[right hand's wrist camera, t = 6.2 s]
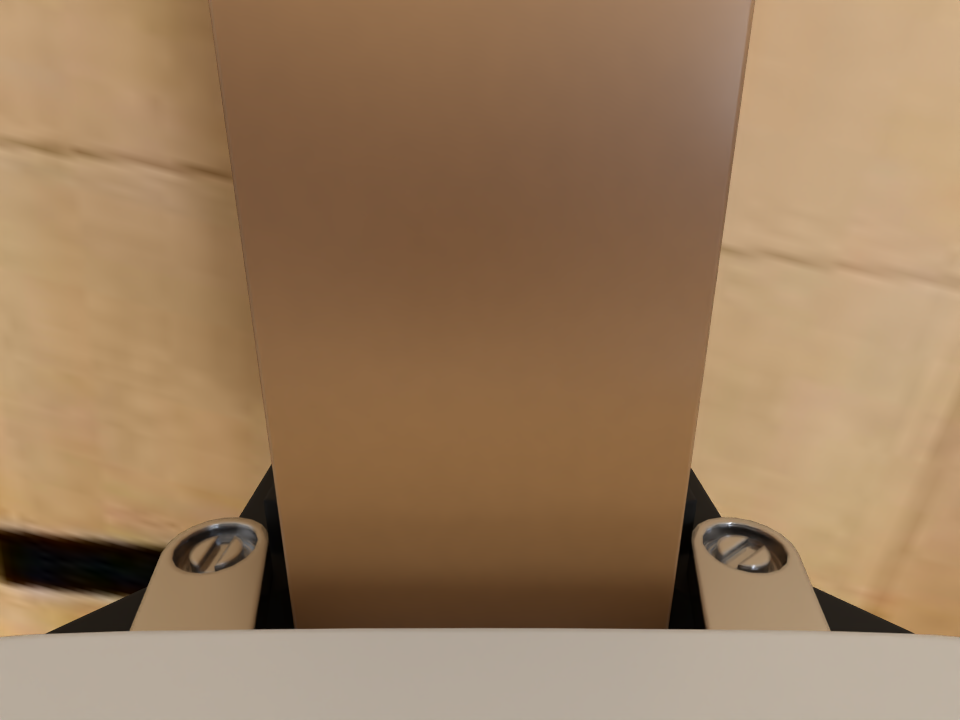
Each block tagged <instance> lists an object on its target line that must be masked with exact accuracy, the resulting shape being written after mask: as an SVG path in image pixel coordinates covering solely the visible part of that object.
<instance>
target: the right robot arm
mask: <svg viewBox="0 0 960 720" xmlns="http://www.w3.org/2000/svg"><path fill="white" fill-rule="evenodd" d="M0 720H960V637H954V636H944V635H929V634H914V633H912V632H910V631H908V630H906V629H903V628H901V627H899V626H897V625H895V624H893V623H890V622H888V621H886V620H884V619H882V618H880V617H877V616H875V615H873V614H871V613H869V612H867V611H864V610H862V609H860V608H858V607H856V606H854V605H851V604H849V603H847V602H845V601H843V600H840V599H838V598H836V597H834V596H832V595H830V594H827V593H825V592H823V591H821V590H819V589H817V588H814V587H812V585H811V582H810V580H809V578H808V575H807V573H806V570H805V568H804V565H803V563H802V561H801V558H800V556H799V553H798V552H797V550H796V549H795V547H794V546H793V544H792V543H791V542H790V541H788V540H787V539H786V538H785V537H784V536H782V535H781V534H780V533H778V532H776V531H774V530H772V529H771V528H769V527H767V526H764V525H761V524H759V523H756V522H753V521H749V520H744V519H739V518H725V517H721V516H720V514H719V513H718V511H717V509H716V508H715V506H714V505H713V503H712V501H711V500H710V498H709V496H708V495H707V493H706V492H705V490H704V488H703V487H702V485H701V483H700V482H699V480H698V479H697V477H696V475H695V474H694V472H693V470H692V469H691V468H690V475H689V482H688V490H687V497H686V504H685V511H684V519H683V526H682V533H681V540H680V547H679V555H678V562H677V569H676V576H675V584H674V591H673V598H672V605H671V613H670V620H669V627H668V629H585V628H350V629H294V622H293V614H292V607H291V600H290V593H289V585H288V578H287V571H286V563H285V556H284V549H283V541H282V534H281V527H280V520H279V512H278V505H277V498H276V490H275V483H274V476H273V468H272V465H271V466H270V468H269V469H268V471H267V473H266V474H265V476H264V478H263V479H262V481H261V482H260V484H259V486H258V487H257V489H256V491H255V492H254V494H253V495H252V497H251V499H250V500H249V502H248V504H247V505H246V507H245V508H244V510H243V512H242V513H241V515H240V517H235V518H221V519H216V520H211V521H207V522H204V523H201V524H199V525H196V526H193V527H191V528H189V529H188V530H186V531H184V532H182V533H180V534H179V535H178V536H176V537H175V538H174V539H173V540H172V541H170V542H169V543H168V544H167V546H166V547H165V549H164V550H163V552H162V553H161V556H160V558H159V561H158V563H157V565H156V568H155V570H154V573H153V575H152V578H151V580H150V582H149V585H148V587H146V588H144V589H142V590H139V591H137V592H135V593H133V594H131V595H129V596H126V597H124V598H122V599H120V600H118V601H116V602H113V603H111V604H109V605H107V606H105V607H102V608H100V609H98V610H96V611H94V612H92V613H89V614H87V615H85V616H83V617H81V618H79V619H76V620H74V621H72V622H70V623H68V624H66V625H63V626H61V627H59V628H57V629H55V630H53V631H50V632H48V633H46V634H32V635H16V636H6V637H0Z"/></svg>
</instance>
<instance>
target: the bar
mask: <svg viewBox="0 0 960 720" xmlns="http://www.w3.org/2000/svg"><path fill="white" fill-rule="evenodd" d="M208 1H209V8H210V16H211V23H212V30H213V38H214V45H215V52H216V59H217V67H218V74H219V81H220V89H221V96H222V103H223V111H224V118H225V125H226V133H227V140H228V147H229V154H230V162H231V169H232V176H233V184H234V191H235V198H236V206H237V213H238V220H239V227H240V235H241V242H242V249H243V257H244V264H245V271H246V279H247V286H248V293H249V300H250V308H251V315H252V322H253V330H254V337H255V344H256V352H257V359H258V366H259V373H260V381H261V388H262V395H263V403H264V410H265V417H266V425H267V432H268V439H269V446H270V454H271V461H272V468H273V476H274V483H275V490H276V498H277V505H278V512H279V520H280V527H281V534H282V541H283V549H284V556H285V563H286V571H287V578H288V585H289V593H290V600H291V607H292V614H293V622H294V629H350V628H585V629H668V627H669V620H670V613H671V605H672V598H673V591H674V584H675V576H676V569H677V562H678V555H679V547H680V540H681V533H682V526H683V519H684V511H685V504H686V497H687V490H688V482H689V475H690V468H691V461H692V453H693V446H694V439H695V432H696V424H697V417H698V410H699V403H700V395H701V388H702V381H703V374H704V366H705V359H706V352H707V345H708V337H709V330H710V323H711V316H712V308H713V301H714V294H715V287H716V279H717V272H718V265H719V258H720V251H721V243H722V236H723V229H724V222H725V214H726V207H727V200H728V193H729V185H730V178H731V171H732V164H733V156H734V149H735V142H736V135H737V127H738V120H739V113H740V106H741V98H742V91H743V84H744V77H745V69H746V62H747V55H748V48H749V40H750V33H751V26H752V19H753V12H754V4H755V0H208Z"/></svg>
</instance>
